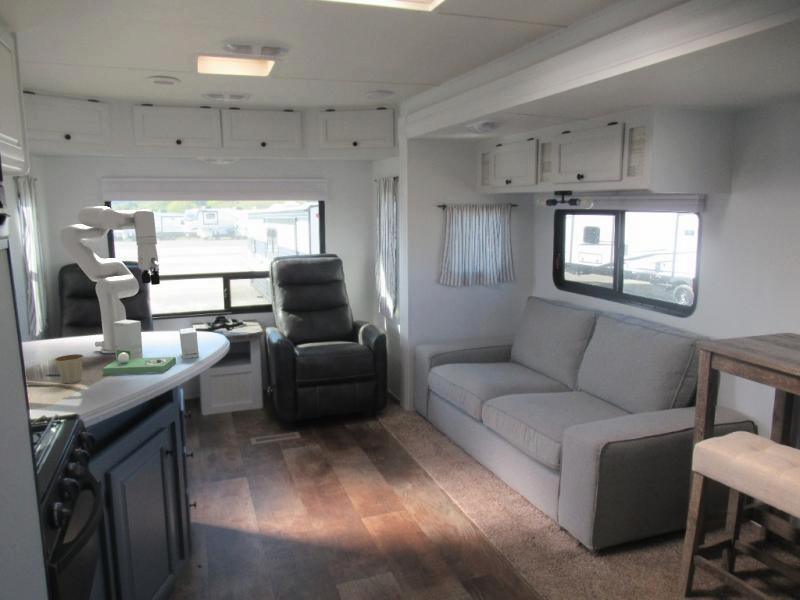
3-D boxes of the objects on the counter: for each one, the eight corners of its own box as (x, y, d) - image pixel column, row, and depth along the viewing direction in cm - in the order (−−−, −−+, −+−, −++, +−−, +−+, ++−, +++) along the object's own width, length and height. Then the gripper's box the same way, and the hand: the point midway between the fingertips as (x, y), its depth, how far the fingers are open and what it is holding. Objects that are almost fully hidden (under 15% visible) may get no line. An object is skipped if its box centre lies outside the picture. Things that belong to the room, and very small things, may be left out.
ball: (116, 364, 230) (115, 354, 229) (120, 361, 234) (119, 351, 233) (127, 364, 230) (126, 353, 229) (131, 361, 234) (130, 351, 233)
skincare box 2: (181, 353, 255) (179, 328, 254) (197, 351, 258) (195, 327, 256) (182, 359, 246) (180, 333, 244) (199, 357, 248) (197, 331, 247)
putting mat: (103, 374, 225) (102, 368, 225) (118, 364, 239) (118, 358, 239) (164, 372, 226) (163, 366, 226) (176, 362, 240) (175, 356, 239)
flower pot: (66, 386, 211) (63, 362, 210) (51, 382, 216) (48, 359, 215) (92, 379, 219) (89, 355, 218) (77, 376, 224) (74, 353, 223)
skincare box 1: (115, 360, 246) (111, 322, 244) (128, 356, 252) (124, 319, 250) (132, 361, 243) (128, 323, 241) (144, 357, 249) (140, 320, 247)
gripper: (129, 241, 249) (133, 283, 252) (145, 242, 236) (149, 286, 239) (147, 240, 254) (152, 281, 257) (164, 240, 241) (168, 284, 244)
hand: (151, 283), depth 248 cm, fingers open, 9 cm apart
